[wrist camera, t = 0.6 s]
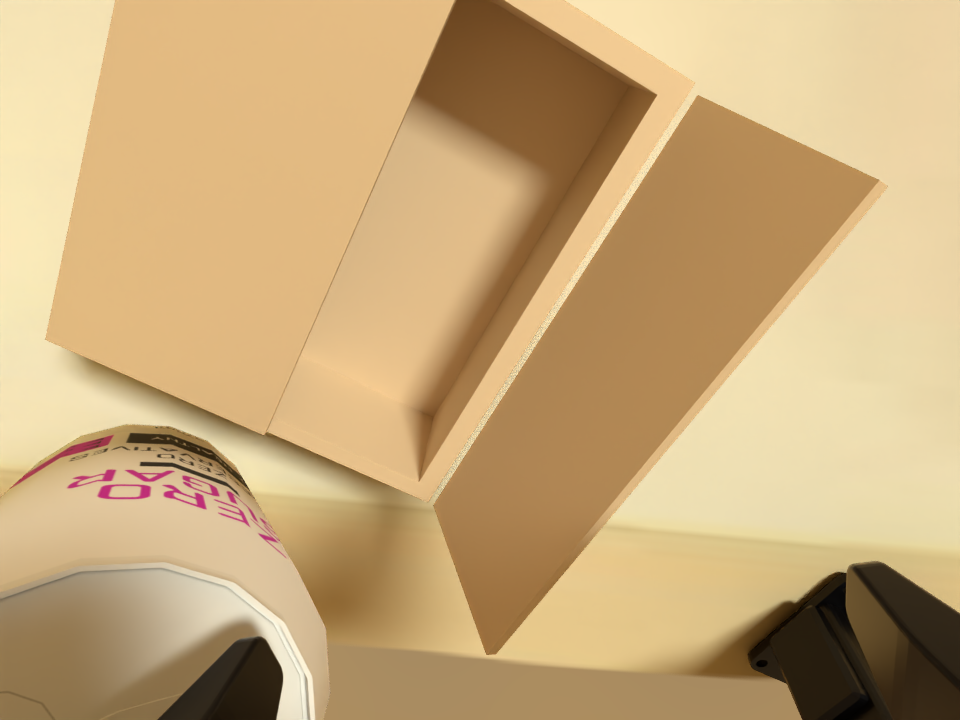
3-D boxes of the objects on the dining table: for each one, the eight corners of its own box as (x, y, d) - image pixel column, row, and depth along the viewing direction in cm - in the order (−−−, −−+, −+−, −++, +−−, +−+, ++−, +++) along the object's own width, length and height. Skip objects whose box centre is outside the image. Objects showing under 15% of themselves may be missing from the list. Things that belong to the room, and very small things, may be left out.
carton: (656, 75, 17) (700, 83, 13) (441, 429, 23) (426, 512, 19) (260, -171, 15) (167, -253, 11) (135, 287, 21) (44, 345, 17)
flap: (697, 94, 14) (706, 101, 14) (433, 505, 19) (441, 505, 19) (879, 179, 10) (888, 187, 10) (486, 655, 16) (495, 654, 16)
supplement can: (13, 667, 21) (-238, 1199, 8) (-9, 435, 21) (-312, 590, 8) (257, 608, 25) (361, 903, 12) (242, 410, 25) (333, 484, 11)
